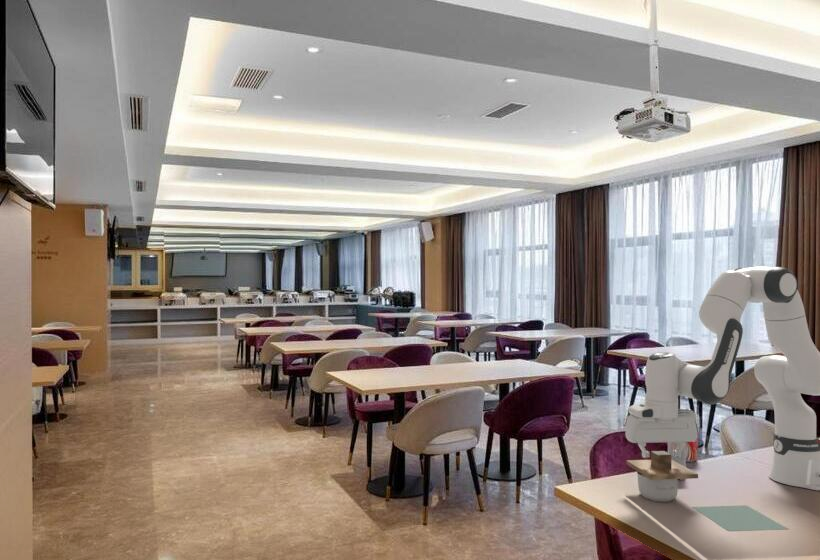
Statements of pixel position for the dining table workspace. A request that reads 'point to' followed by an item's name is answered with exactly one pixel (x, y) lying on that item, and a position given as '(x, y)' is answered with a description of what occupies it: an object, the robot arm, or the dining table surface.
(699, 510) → the mat
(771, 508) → the dining table surface
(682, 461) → the energy drink
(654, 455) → the cover
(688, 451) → the soda can
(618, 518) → the dining table surface
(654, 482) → the teacup
